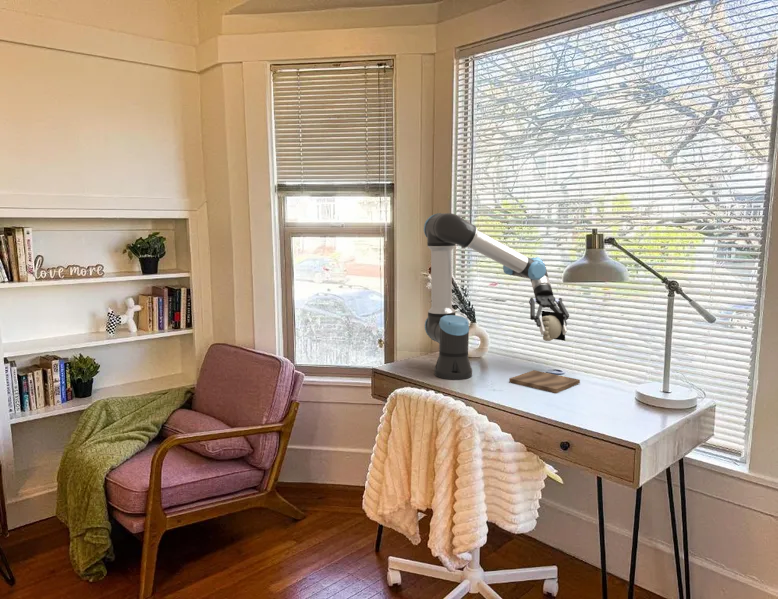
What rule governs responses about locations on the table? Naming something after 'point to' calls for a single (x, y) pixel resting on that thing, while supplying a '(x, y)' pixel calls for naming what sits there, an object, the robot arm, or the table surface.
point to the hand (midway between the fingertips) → (554, 332)
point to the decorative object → (553, 325)
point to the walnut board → (544, 381)
